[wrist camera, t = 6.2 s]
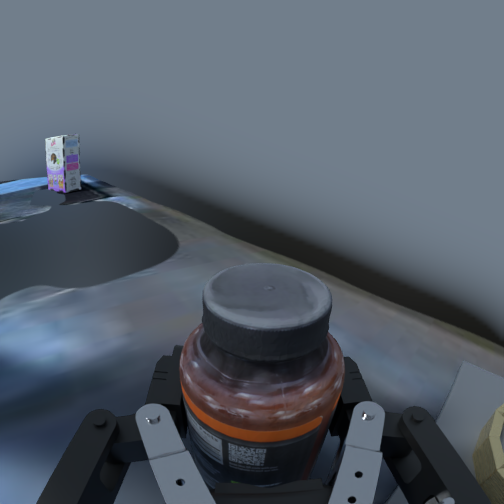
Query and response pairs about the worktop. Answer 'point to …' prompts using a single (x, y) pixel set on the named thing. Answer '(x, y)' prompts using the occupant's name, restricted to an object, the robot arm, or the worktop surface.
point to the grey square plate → (466, 413)
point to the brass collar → (491, 458)
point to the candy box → (63, 163)
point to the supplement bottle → (261, 376)
